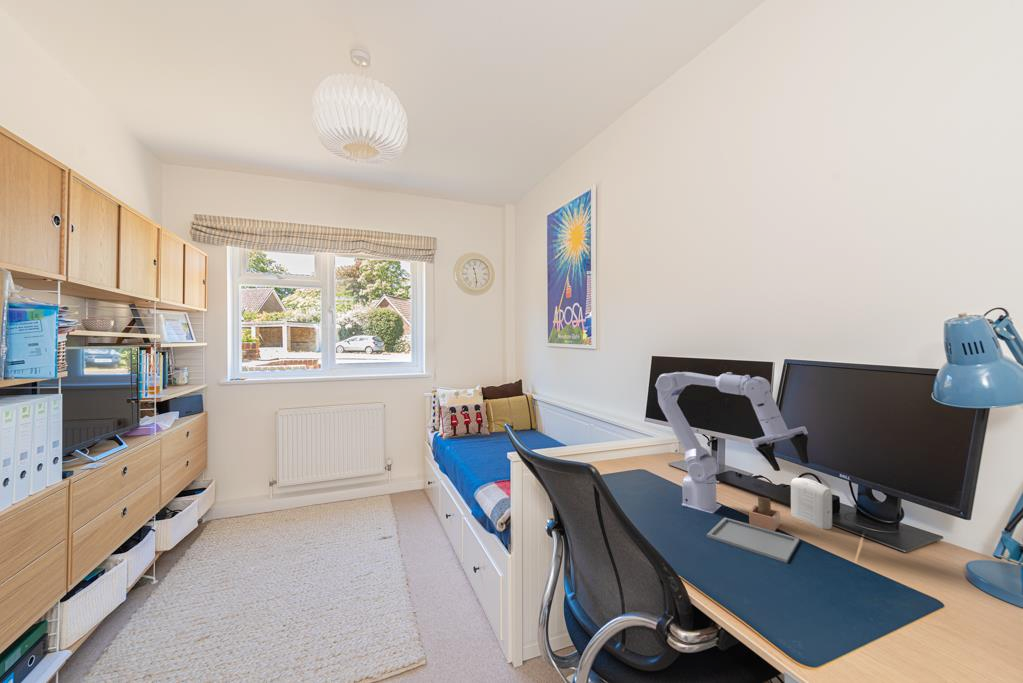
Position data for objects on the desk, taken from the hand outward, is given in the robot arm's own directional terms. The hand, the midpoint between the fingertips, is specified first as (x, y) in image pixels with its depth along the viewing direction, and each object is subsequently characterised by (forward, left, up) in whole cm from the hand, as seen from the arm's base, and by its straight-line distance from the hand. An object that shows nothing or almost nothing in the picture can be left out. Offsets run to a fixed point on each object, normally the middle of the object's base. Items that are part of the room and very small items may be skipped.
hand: (791, 466), depth 108 cm
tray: (-7, -12, -18) cm, 23 cm away
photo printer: (+2, +11, -18) cm, 21 cm away
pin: (-7, 0, -18) cm, 19 cm away
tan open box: (-7, 0, -18) cm, 19 cm away
